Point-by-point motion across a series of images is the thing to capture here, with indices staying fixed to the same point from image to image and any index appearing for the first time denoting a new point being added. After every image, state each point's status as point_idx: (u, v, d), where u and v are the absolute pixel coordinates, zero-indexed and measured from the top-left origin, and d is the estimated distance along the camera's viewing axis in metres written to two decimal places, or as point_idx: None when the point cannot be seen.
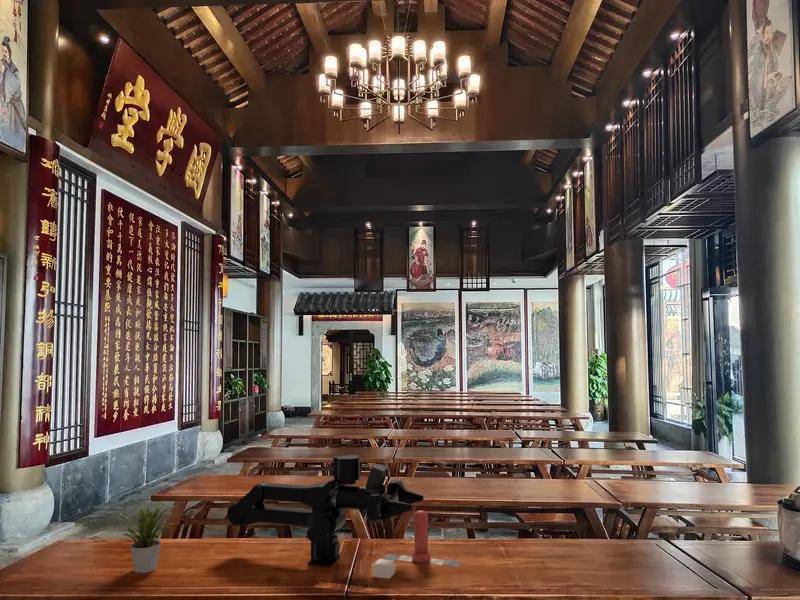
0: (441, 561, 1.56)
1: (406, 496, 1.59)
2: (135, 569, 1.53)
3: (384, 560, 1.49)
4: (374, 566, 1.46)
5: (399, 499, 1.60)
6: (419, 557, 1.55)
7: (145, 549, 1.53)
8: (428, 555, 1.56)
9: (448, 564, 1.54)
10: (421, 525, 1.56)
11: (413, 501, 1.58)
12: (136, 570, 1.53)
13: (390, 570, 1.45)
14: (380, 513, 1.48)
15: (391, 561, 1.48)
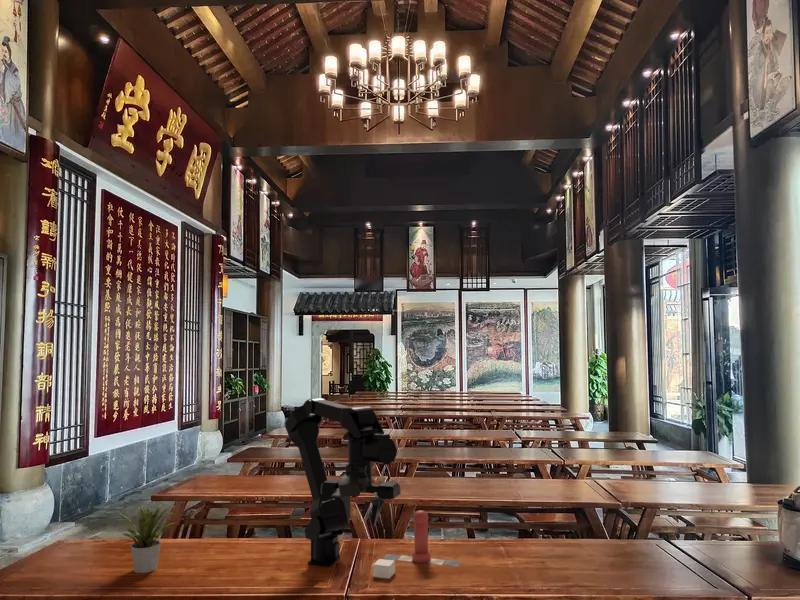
0: (441, 561, 1.56)
1: None
2: (135, 569, 1.53)
3: (384, 560, 1.49)
4: (374, 566, 1.46)
5: None
6: (419, 557, 1.55)
7: (145, 549, 1.53)
8: (428, 555, 1.56)
9: (448, 564, 1.54)
10: (421, 525, 1.56)
11: None
12: (136, 570, 1.53)
13: (390, 570, 1.45)
14: None
15: (391, 561, 1.48)
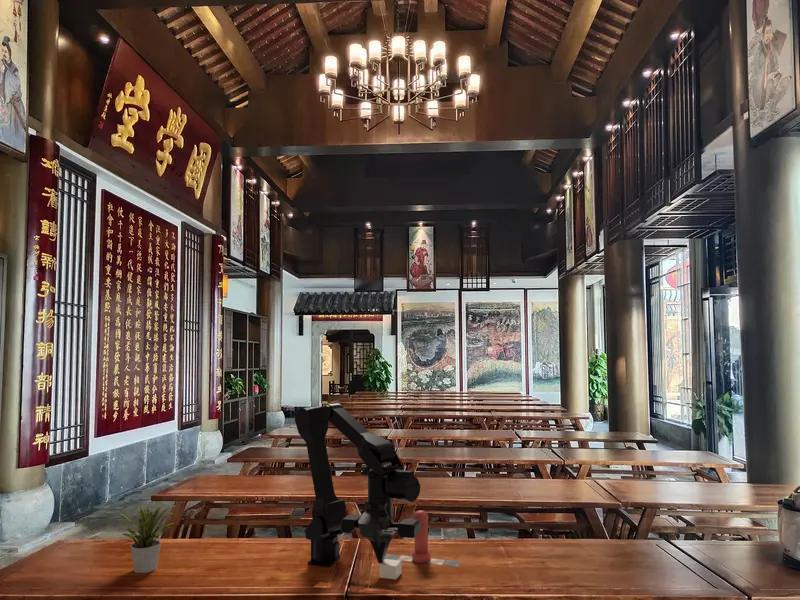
0: (441, 561, 1.56)
1: None
2: (135, 569, 1.53)
3: (391, 560, 1.49)
4: (380, 566, 1.46)
5: None
6: (419, 557, 1.55)
7: (145, 549, 1.53)
8: (428, 555, 1.56)
9: (448, 564, 1.54)
10: (421, 525, 1.56)
11: None
12: (136, 570, 1.53)
13: (396, 570, 1.45)
14: None
15: (397, 561, 1.48)
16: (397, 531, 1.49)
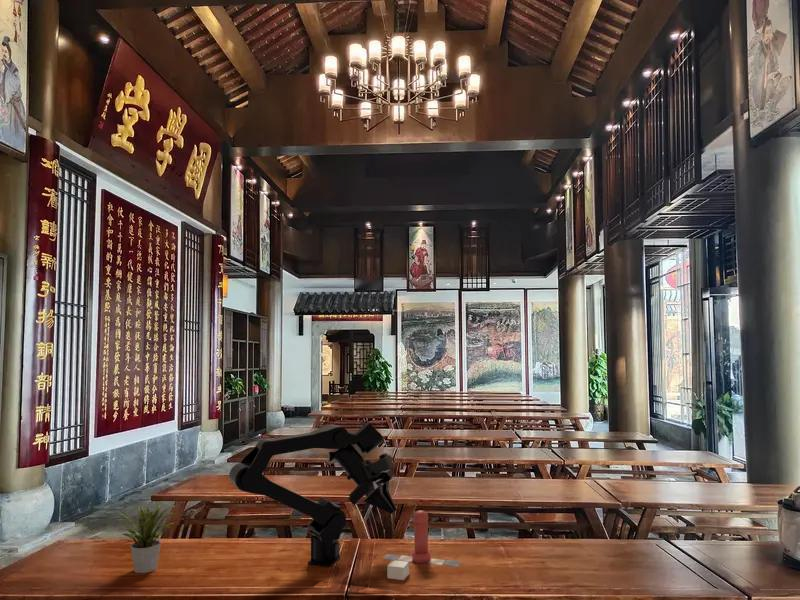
0: (441, 561, 1.56)
1: None
2: (135, 569, 1.53)
3: (398, 561, 1.48)
4: (388, 567, 1.45)
5: None
6: (419, 557, 1.55)
7: (145, 549, 1.53)
8: (428, 555, 1.56)
9: (448, 564, 1.54)
10: (421, 525, 1.56)
11: None
12: (136, 570, 1.53)
13: (404, 571, 1.44)
14: (367, 497, 1.58)
15: (405, 562, 1.47)
16: None
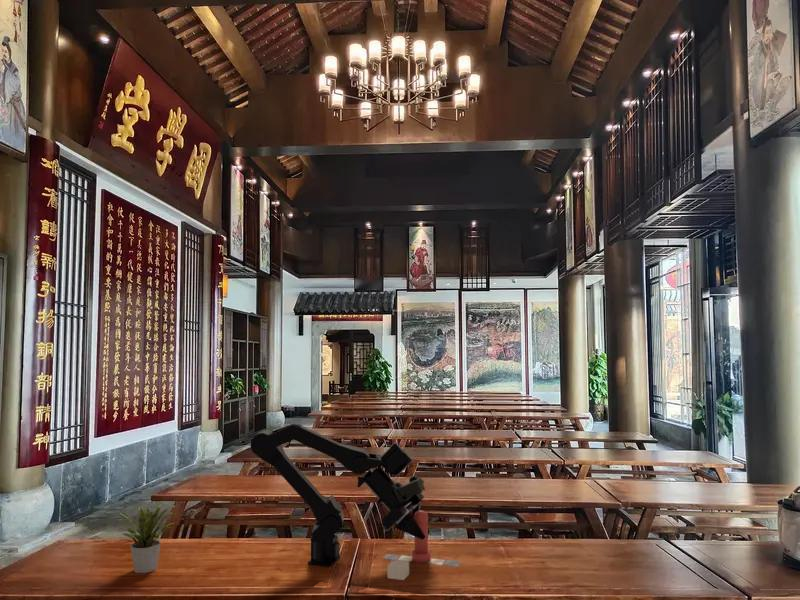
0: (441, 561, 1.56)
1: None
2: (135, 569, 1.53)
3: (398, 561, 1.48)
4: (388, 567, 1.45)
5: None
6: (419, 557, 1.55)
7: (145, 549, 1.53)
8: (428, 555, 1.56)
9: (448, 564, 1.54)
10: (421, 525, 1.56)
11: None
12: (136, 570, 1.53)
13: (404, 571, 1.44)
14: (398, 523, 1.54)
15: (405, 562, 1.47)
16: None
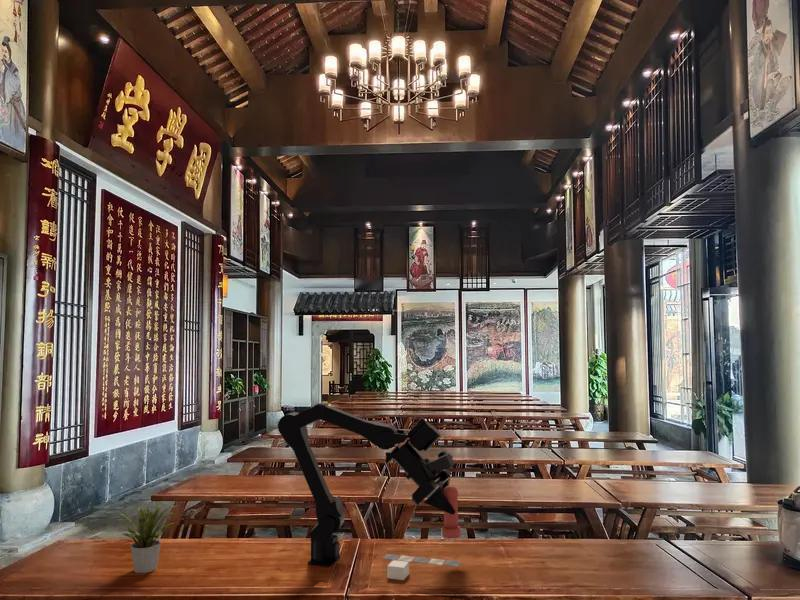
0: (441, 561, 1.56)
1: None
2: (135, 569, 1.53)
3: (398, 561, 1.48)
4: (388, 567, 1.45)
5: None
6: (450, 532, 1.53)
7: (145, 549, 1.53)
8: (458, 530, 1.54)
9: (448, 564, 1.54)
10: (451, 500, 1.54)
11: None
12: (136, 570, 1.53)
13: (404, 571, 1.44)
14: (428, 498, 1.52)
15: (405, 562, 1.47)
16: None
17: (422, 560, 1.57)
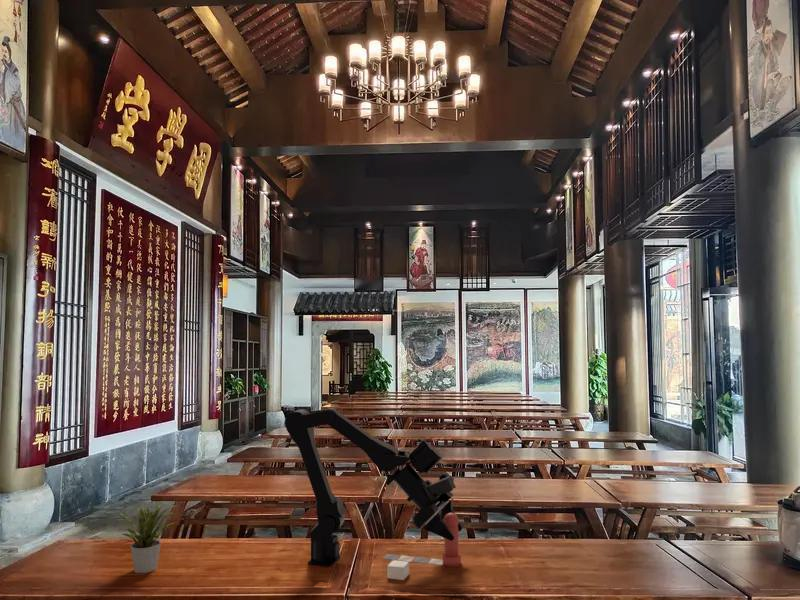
0: (441, 561, 1.56)
1: None
2: (135, 569, 1.53)
3: (398, 561, 1.48)
4: (388, 567, 1.45)
5: None
6: (450, 560, 1.52)
7: (145, 549, 1.53)
8: (459, 558, 1.53)
9: None
10: (451, 528, 1.53)
11: None
12: (136, 570, 1.53)
13: (404, 571, 1.44)
14: (426, 524, 1.49)
15: (405, 562, 1.47)
16: None
17: (422, 560, 1.57)
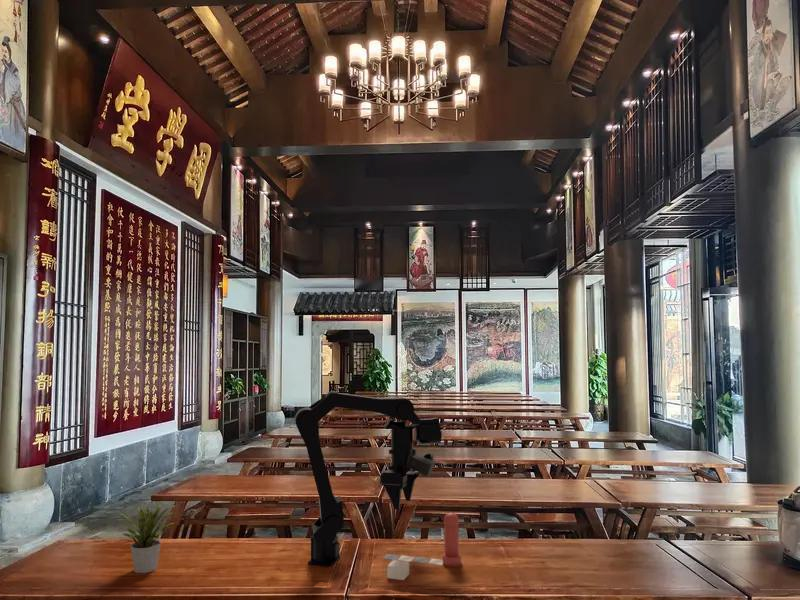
0: (441, 561, 1.56)
1: (408, 483, 1.69)
2: (135, 569, 1.53)
3: (398, 561, 1.48)
4: (388, 567, 1.45)
5: None
6: (450, 560, 1.52)
7: (145, 549, 1.53)
8: (459, 558, 1.53)
9: None
10: (452, 528, 1.53)
11: (404, 490, 1.69)
12: (136, 570, 1.53)
13: (404, 571, 1.44)
14: (388, 484, 1.58)
15: (405, 562, 1.47)
16: None
17: (422, 560, 1.57)
